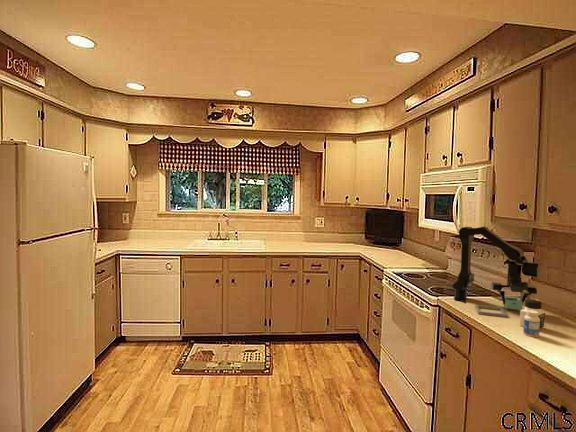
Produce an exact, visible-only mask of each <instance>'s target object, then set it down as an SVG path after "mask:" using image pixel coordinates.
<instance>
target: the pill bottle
mask: <svg viewBox="0 0 576 432" xmlns="http://www.w3.org/2000/svg"><path fill="white" fill-rule="evenodd" d="M537 316H538V312H537V311H533V310H527V315H526V316H525V317H524V327H523V331H522V332H523V333H522V334H524V335H525V336H528V337H532V338H537V337H539V335H540V330H539V327H540V318H539V317H537Z"/></svg>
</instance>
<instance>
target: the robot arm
mask: <svg viewBox="0 0 576 432" xmlns="http://www.w3.org/2000/svg"><path fill="white" fill-rule="evenodd" d="M478 235H481V236H483V238H486V239H487V240H488V241H490V242H491V243H492V244H493V245H495V246H496V247H498V248H499V249H500V250H501V251H502V253H503V254H504V255H505V256H506V257H507V259H505V261H504V262H503V264H504V265H507V275H506V284H502V283H501V282H495V281H492V282H491V285H490V287H491V289H492V290H494V291H497V292H498V293H499V296H500V298H501V302H502V305H503V304H505V297H506V296H505V294H506V293H505V292H506V291H505V290H510V292H514V293H516V292H517V293H520V298H519V299H520V300H521V301H522V302H523V303H525V300H526V299H527V297H528V296H531V295H532V294H533V295H537V293H538V289H537V287H535V286H534V285H531V284H530V285H529V284H528V283H529V282H527V281H522V274H523V275H524V276H526V277H532V278H539V277H540V276H541V272H542V271H541V267H540V263H539V262H530V261H529V260H528V259H527V258H526V256H525V253H524V250H523V249H521V248H520V247H518V246H515V245H513V244H512V243H511V244H510V243H509V242H507V241H506V240H504V239H503V238H502V237H500V236H499V235H498V234H496V233H495V232H494V231H492V230H490V229H489V227H487V226H480V227H472V226H464V227H461V228H460V229H459V230H458V237H459V241H460V242H461V257H460V258H461V260H460V271H459V273H458V276H457V281H456V282H454V283H453V284H452V288H453V289H454V290H455V291H454V295H453V300H454V301H460V302H461V301H462V302H466V300H467V295H468V294H467V293H468V288H470V286H472V285H473V284H474V281H475V273H474V272H473V273H472V270H471V260H472V258H471V257H472V256H471V255H472V243H473V240H474V237H475V236H478Z"/></svg>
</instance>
